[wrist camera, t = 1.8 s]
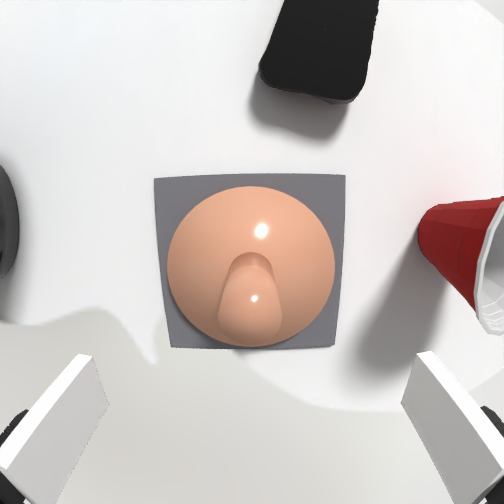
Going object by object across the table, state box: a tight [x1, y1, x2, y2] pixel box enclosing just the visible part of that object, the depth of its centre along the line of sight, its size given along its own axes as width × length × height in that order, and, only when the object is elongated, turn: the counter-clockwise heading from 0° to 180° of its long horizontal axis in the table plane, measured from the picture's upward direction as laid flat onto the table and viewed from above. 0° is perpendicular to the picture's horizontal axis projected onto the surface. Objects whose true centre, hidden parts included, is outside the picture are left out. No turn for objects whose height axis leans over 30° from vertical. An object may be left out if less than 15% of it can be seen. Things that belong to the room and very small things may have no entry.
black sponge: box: [258, 0, 379, 104], centre depth 19 cm, size 16×8×4 cm, turn 164°
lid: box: [167, 186, 335, 347], centre depth 21 cm, size 14×14×9 cm
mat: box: [154, 174, 345, 349], centre depth 26 cm, size 16×16×1 cm
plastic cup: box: [418, 196, 504, 335], centre depth 19 cm, size 11×11×12 cm
